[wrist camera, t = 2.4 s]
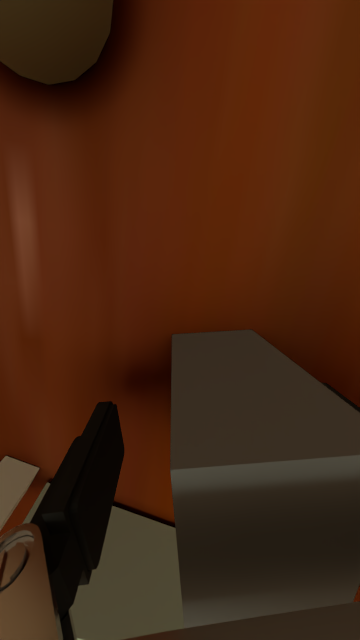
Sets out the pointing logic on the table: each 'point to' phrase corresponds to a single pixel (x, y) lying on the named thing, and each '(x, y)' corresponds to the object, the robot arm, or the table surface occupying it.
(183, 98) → the table surface
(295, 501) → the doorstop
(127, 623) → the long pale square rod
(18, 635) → the robot arm
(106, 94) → the table surface
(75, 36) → the squeeze bottle
